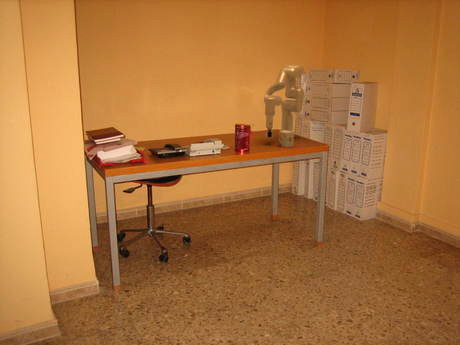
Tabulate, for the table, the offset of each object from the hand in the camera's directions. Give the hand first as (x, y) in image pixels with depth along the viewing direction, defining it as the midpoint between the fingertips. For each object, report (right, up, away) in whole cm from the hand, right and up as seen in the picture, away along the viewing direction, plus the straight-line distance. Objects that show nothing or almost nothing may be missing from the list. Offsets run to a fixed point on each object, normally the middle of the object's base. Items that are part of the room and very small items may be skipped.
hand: (269, 136), depth 341 cm
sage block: (0, -1, 0) cm, 1 cm away
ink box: (+12, -9, -5) cm, 16 cm away
